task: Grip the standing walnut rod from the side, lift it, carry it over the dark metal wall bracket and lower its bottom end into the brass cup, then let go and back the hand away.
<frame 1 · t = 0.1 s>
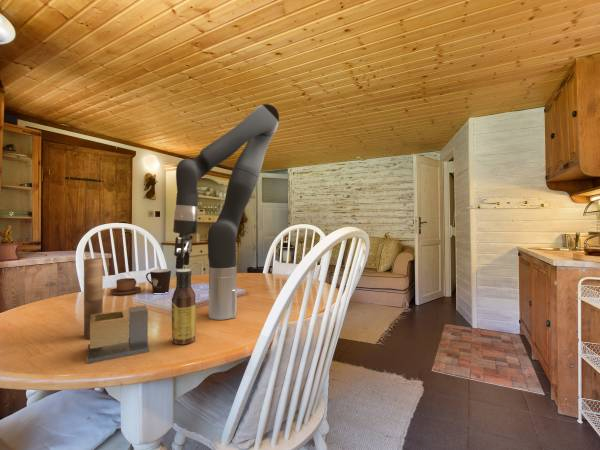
hand: (182, 266, 108), 17 cm above the table, tool pointing down, fingers open, 8 cm apart
bracket: (109, 351, 80), on the table
sauce bottle: (183, 342, 87), on the table
coffee mug: (159, 292, 143), on the table
cup and saucer: (125, 294, 141), on the table
rod: (93, 336, 90), on the table
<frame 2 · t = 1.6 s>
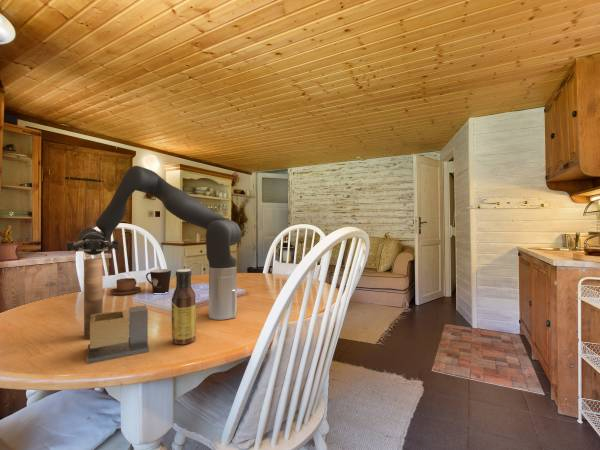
hand: (93, 247, 99), 24 cm above the table, tool horizontal, fingers open, 8 cm apart
nothing on the table moved.
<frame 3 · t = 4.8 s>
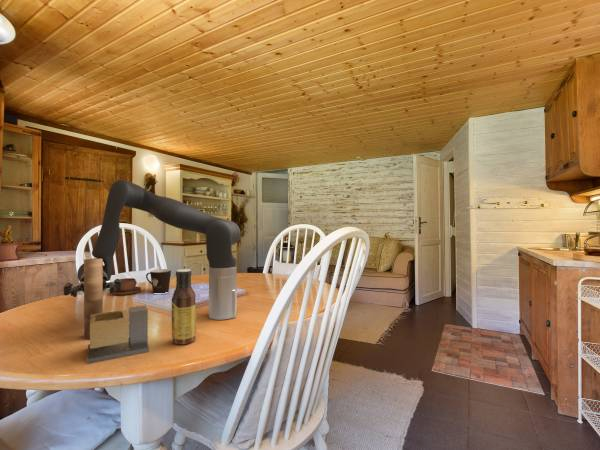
hand: (93, 291, 89), 13 cm above the table, tool horizontal, fingers open, 8 cm apart
nothing on the table moved.
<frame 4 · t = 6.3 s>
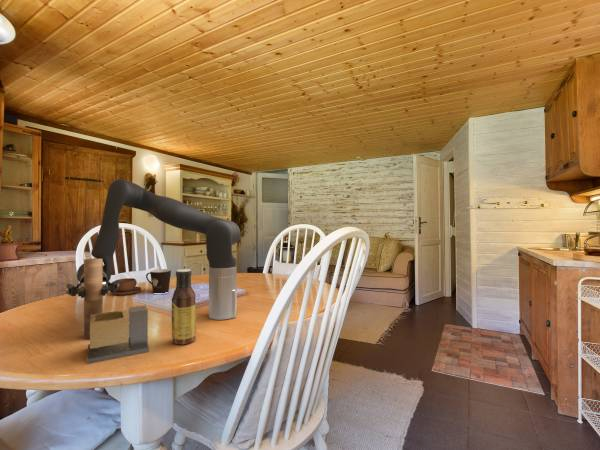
hand: (93, 293, 87), 13 cm above the table, tool horizontal, fingers closed on rod, 4 cm apart
rod: (93, 336, 90), on the table, touching gripper
everything else where it was.
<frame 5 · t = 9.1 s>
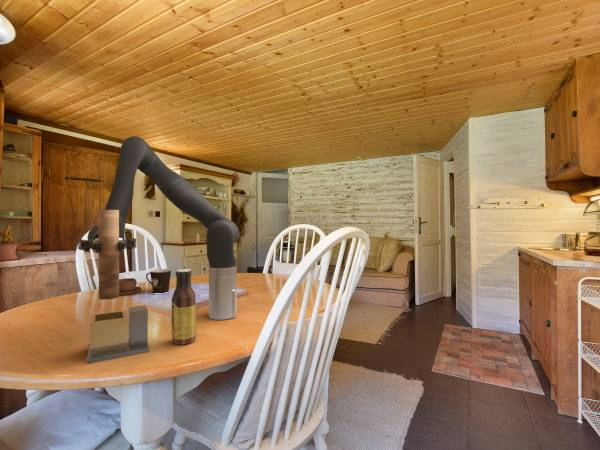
hand: (109, 246, 77), 27 cm above the table, tool horizontal, fingers closed on rod, 4 cm apart
rod: (109, 297, 80), point 14 cm above the table, touching gripper
everything else where it was.
when the fingers open (18 cm above the table, at t = 11.8 s): rod drops 1 cm, resting on bracket.
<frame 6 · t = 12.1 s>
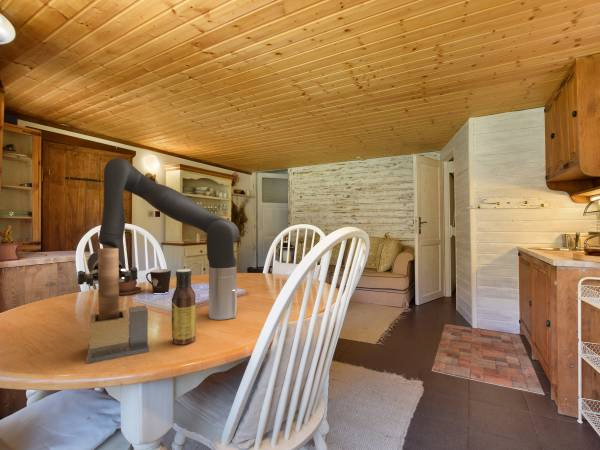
hand: (109, 280, 78), 19 cm above the table, tool horizontal, fingers open, 7 cm apart
rod: (109, 335, 80), point 4 cm above the table, touching bracket
everything else where it was.
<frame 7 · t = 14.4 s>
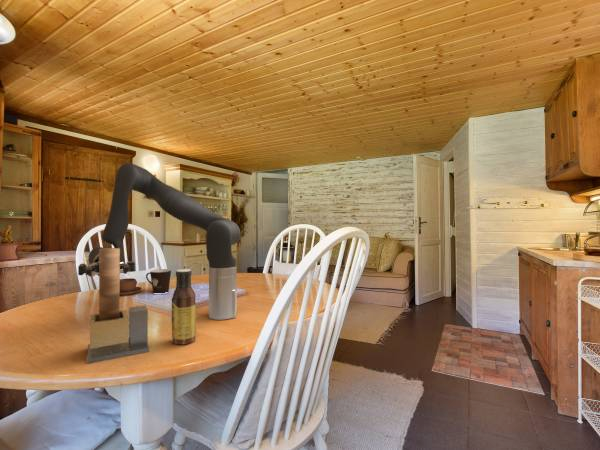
hand: (108, 271, 89), 19 cm above the table, tool horizontal, fingers open, 8 cm apart
nothing on the table moved.
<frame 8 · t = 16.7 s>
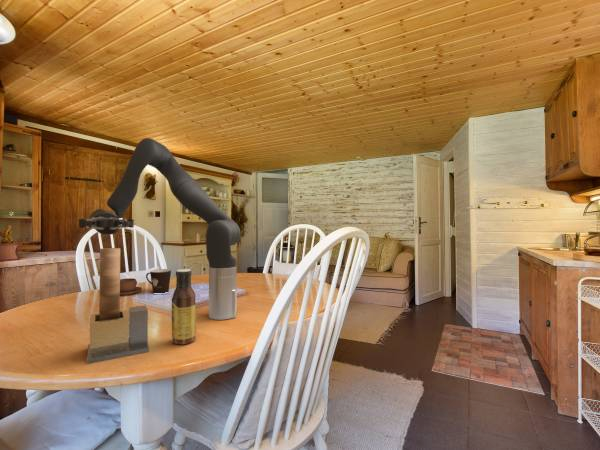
hand: (107, 223, 92), 32 cm above the table, tool horizontal, fingers open, 8 cm apart
nothing on the table moved.
at the end: rod 0.1 cm off-centre on the bracket, point 4.0 cm above the bracket's base; rod tilted 1°; the gripper is holding nothing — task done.
